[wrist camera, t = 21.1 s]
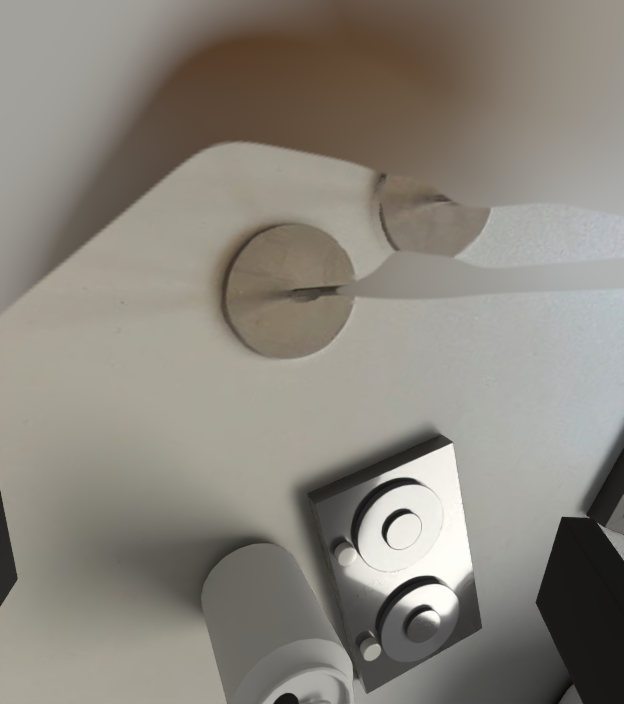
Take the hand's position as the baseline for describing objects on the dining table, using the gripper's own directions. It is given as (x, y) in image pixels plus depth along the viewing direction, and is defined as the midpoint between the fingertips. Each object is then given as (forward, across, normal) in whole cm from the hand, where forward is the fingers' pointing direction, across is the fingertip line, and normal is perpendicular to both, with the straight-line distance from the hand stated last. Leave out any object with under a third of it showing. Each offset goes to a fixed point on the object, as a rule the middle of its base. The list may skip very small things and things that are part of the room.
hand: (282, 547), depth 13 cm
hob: (+25, +10, -24) cm, 36 cm away
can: (+21, -3, -22) cm, 31 cm away
